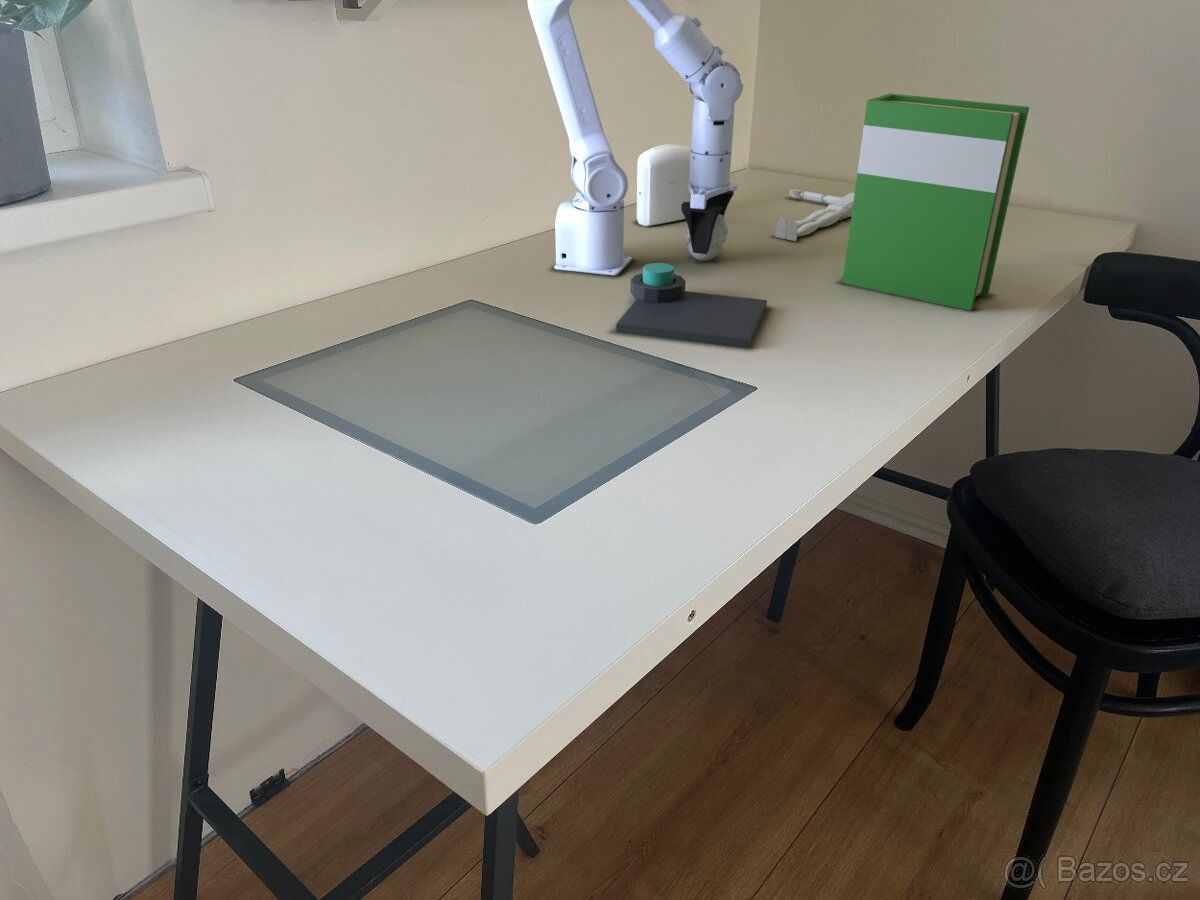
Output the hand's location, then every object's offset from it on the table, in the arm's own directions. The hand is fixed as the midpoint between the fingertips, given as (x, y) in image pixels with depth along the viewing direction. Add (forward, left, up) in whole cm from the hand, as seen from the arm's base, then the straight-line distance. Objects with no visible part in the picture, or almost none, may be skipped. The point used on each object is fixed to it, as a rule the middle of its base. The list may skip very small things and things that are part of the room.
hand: (705, 246), depth 136 cm
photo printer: (-11, +19, -2) cm, 22 cm away
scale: (+3, -24, -2) cm, 25 cm away
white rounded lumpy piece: (0, 0, -2) cm, 2 cm away
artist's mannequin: (+16, +28, -2) cm, 32 cm away
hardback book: (+30, -4, -2) cm, 30 cm away
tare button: (-2, -20, +1) cm, 20 cm away
